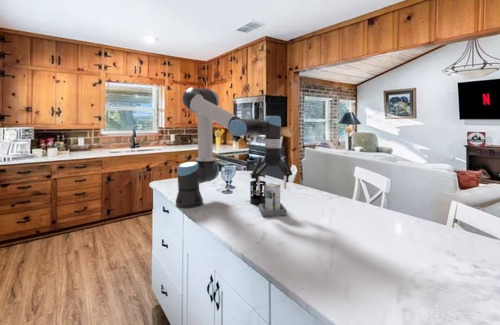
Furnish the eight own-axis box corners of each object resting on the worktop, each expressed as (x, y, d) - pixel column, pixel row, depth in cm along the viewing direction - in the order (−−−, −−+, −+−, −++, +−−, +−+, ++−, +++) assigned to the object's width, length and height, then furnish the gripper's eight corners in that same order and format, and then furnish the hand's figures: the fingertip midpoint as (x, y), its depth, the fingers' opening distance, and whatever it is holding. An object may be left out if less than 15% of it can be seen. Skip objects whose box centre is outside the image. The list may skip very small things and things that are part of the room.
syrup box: (264, 211, 146) (264, 184, 144) (271, 209, 151) (271, 182, 149) (274, 214, 143) (274, 185, 141) (280, 211, 147) (280, 183, 145)
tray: (262, 216, 140) (262, 211, 140) (259, 209, 152) (259, 203, 152) (286, 215, 142) (286, 210, 141) (281, 208, 153) (281, 203, 153)
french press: (269, 204, 161) (269, 163, 158) (254, 206, 158) (254, 165, 155) (261, 198, 172) (260, 161, 169) (246, 200, 169) (246, 162, 165)
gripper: (248, 148, 137) (248, 191, 140) (299, 148, 140) (297, 190, 143) (246, 146, 144) (246, 187, 148) (295, 146, 147) (293, 186, 150)
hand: (271, 188), depth 145 cm, fingers open, 13 cm apart
